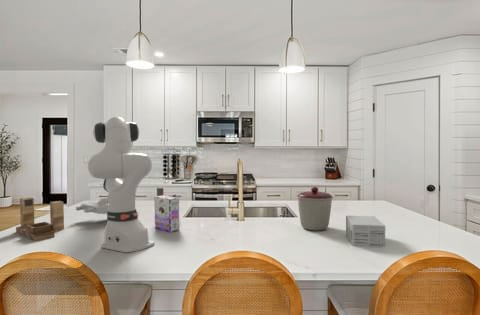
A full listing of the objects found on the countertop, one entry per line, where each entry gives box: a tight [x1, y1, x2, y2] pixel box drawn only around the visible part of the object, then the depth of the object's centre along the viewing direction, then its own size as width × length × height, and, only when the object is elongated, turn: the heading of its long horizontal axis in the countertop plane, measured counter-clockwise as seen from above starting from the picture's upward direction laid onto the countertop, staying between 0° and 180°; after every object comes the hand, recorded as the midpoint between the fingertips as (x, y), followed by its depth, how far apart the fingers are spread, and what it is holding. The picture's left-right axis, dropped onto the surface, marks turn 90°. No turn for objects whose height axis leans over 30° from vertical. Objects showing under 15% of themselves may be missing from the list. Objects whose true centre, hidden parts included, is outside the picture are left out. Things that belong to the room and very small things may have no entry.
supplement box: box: [345, 215, 386, 248], centre depth 137 cm, size 17×13×9 cm
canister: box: [296, 186, 334, 232], centre depth 158 cm, size 18×18×21 cm
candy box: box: [154, 194, 180, 233], centre depth 157 cm, size 14×6×16 cm, turn 47°
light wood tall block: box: [49, 200, 65, 232], centre depth 158 cm, size 5×4×14 cm
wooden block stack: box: [15, 196, 55, 242], centre depth 149 cm, size 24×8×16 cm, turn 52°
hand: (80, 209), depth 167 cm, fingers open, 8 cm apart
